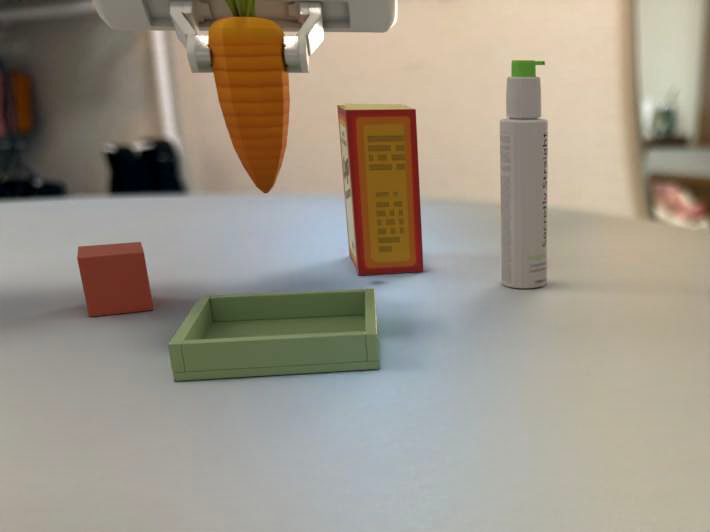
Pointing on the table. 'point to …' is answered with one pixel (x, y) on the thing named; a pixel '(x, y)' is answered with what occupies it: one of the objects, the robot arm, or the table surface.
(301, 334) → the green tray
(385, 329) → the table surface
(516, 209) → the bottle
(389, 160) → the baking soda box
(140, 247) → the terracotta block
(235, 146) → the carrot
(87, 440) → the table surface
